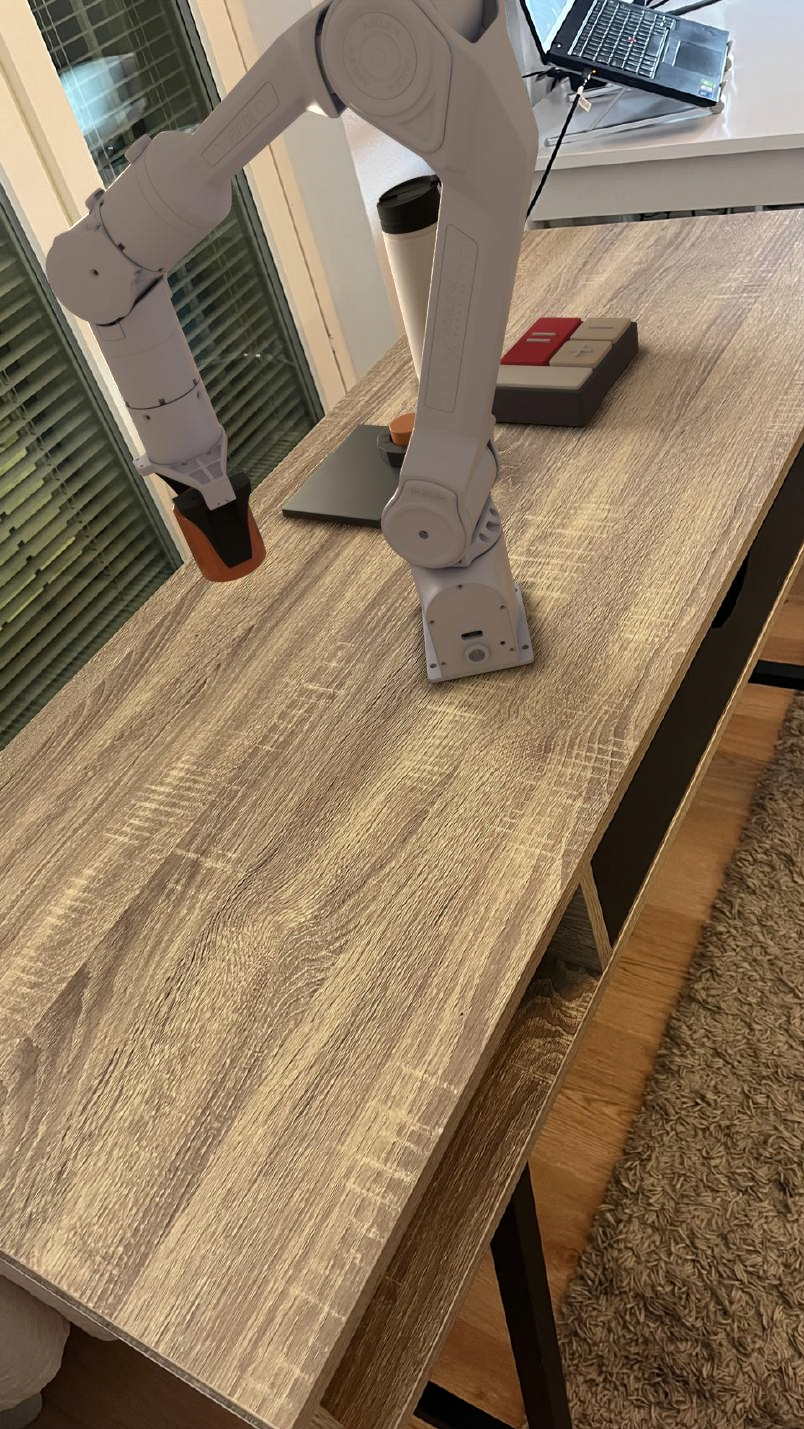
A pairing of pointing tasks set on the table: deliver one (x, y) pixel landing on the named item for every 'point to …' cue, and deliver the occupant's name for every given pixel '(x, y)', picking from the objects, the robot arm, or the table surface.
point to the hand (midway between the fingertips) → (227, 544)
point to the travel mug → (412, 250)
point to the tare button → (402, 429)
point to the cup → (210, 559)
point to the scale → (352, 480)
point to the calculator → (562, 369)
